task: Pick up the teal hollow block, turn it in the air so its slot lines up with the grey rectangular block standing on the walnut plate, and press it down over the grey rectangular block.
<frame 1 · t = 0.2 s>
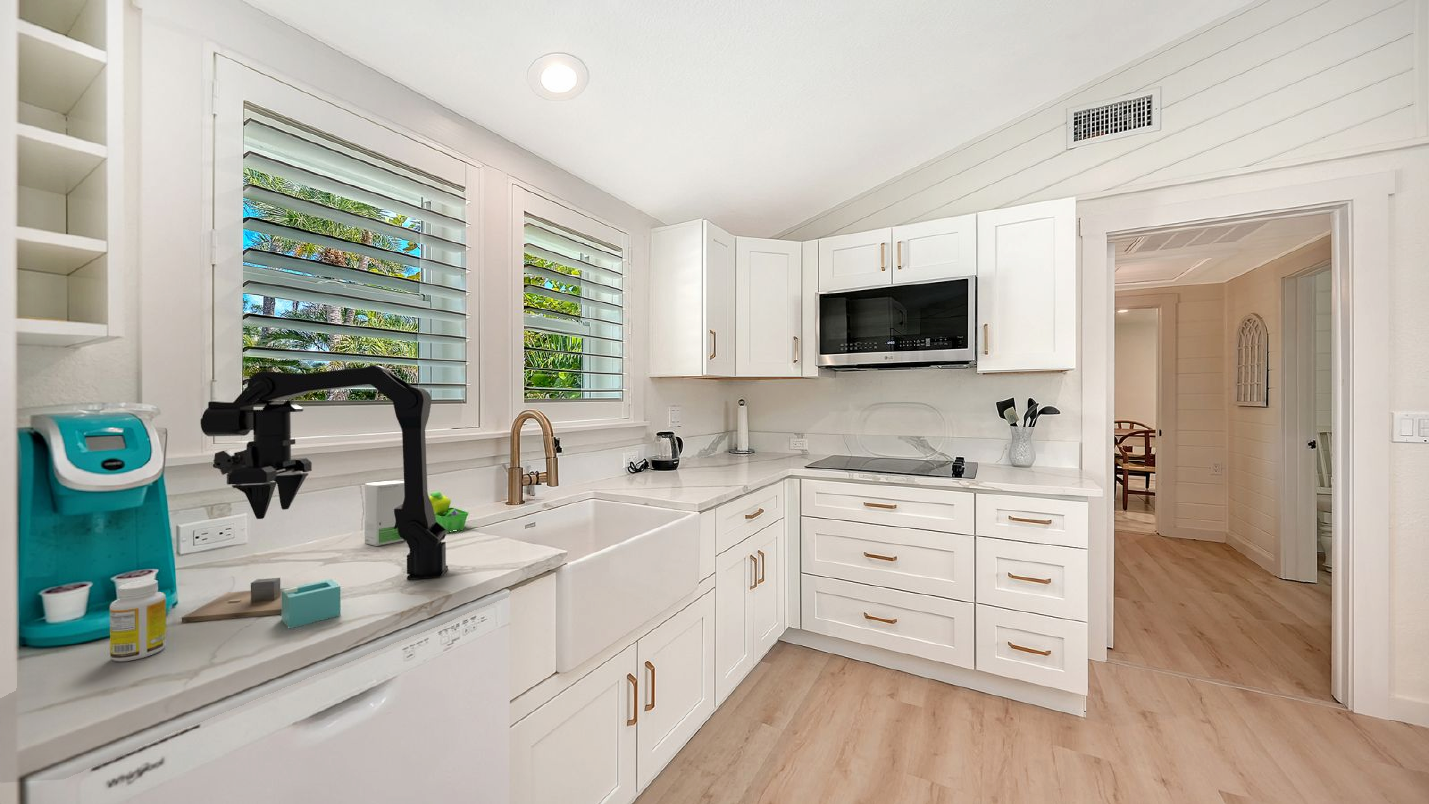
hand: (273, 513, 106), 14 cm above the worktop, tool pointing down, fingers open, 9 cm apart
base plate: (265, 603, 97), on the worktop
supplement bottle: (138, 655, 78), on the worktop
skincare box: (386, 542, 140), on the worktop
teal hollow block: (311, 617, 91), on the worktop
grey rectangular block: (265, 603, 97), resting on base plate
fruit basket: (445, 530, 153), on the worktop
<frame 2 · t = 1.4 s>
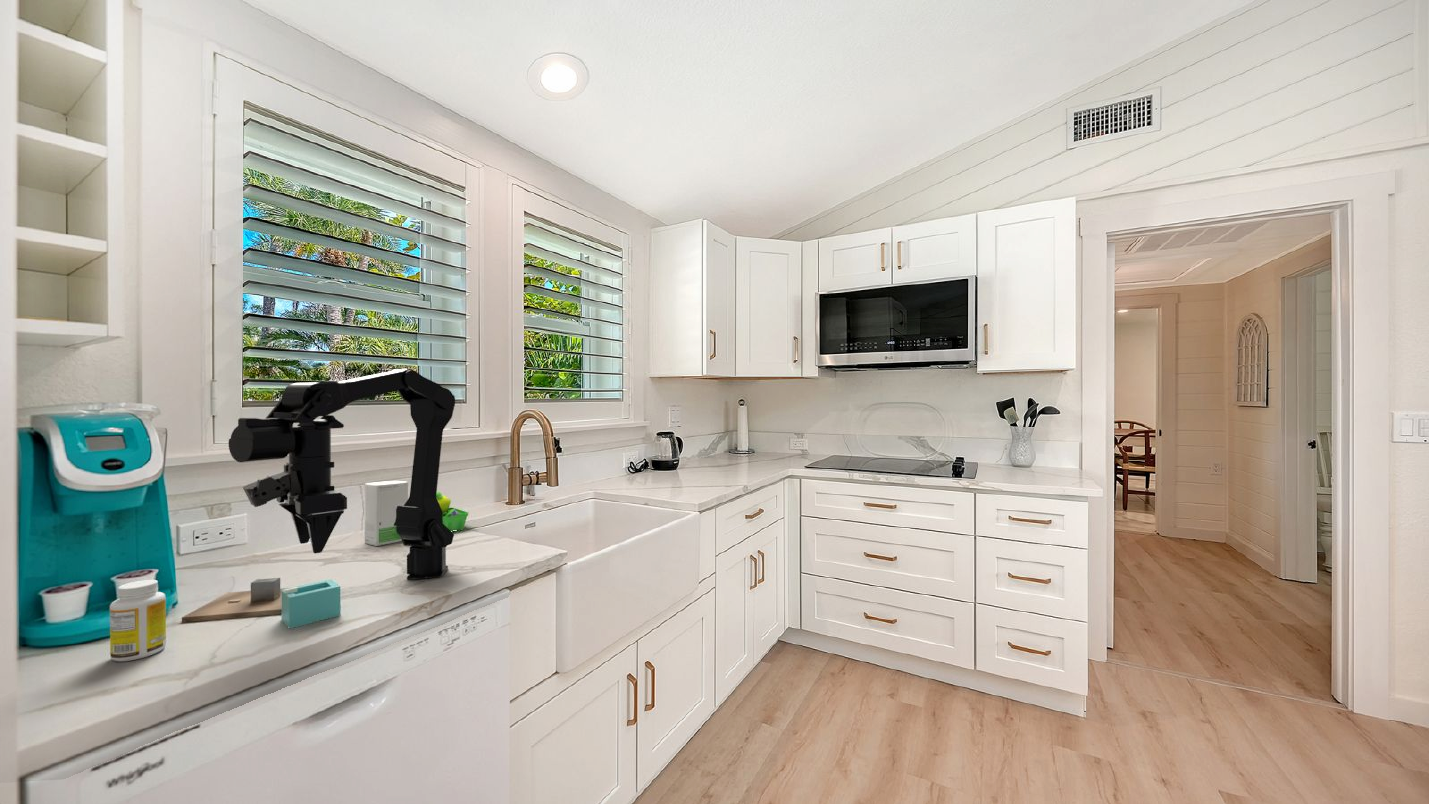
hand: (310, 547, 91), 12 cm above the worktop, tool pointing down, fingers open, 9 cm apart
nothing on the worktop moved.
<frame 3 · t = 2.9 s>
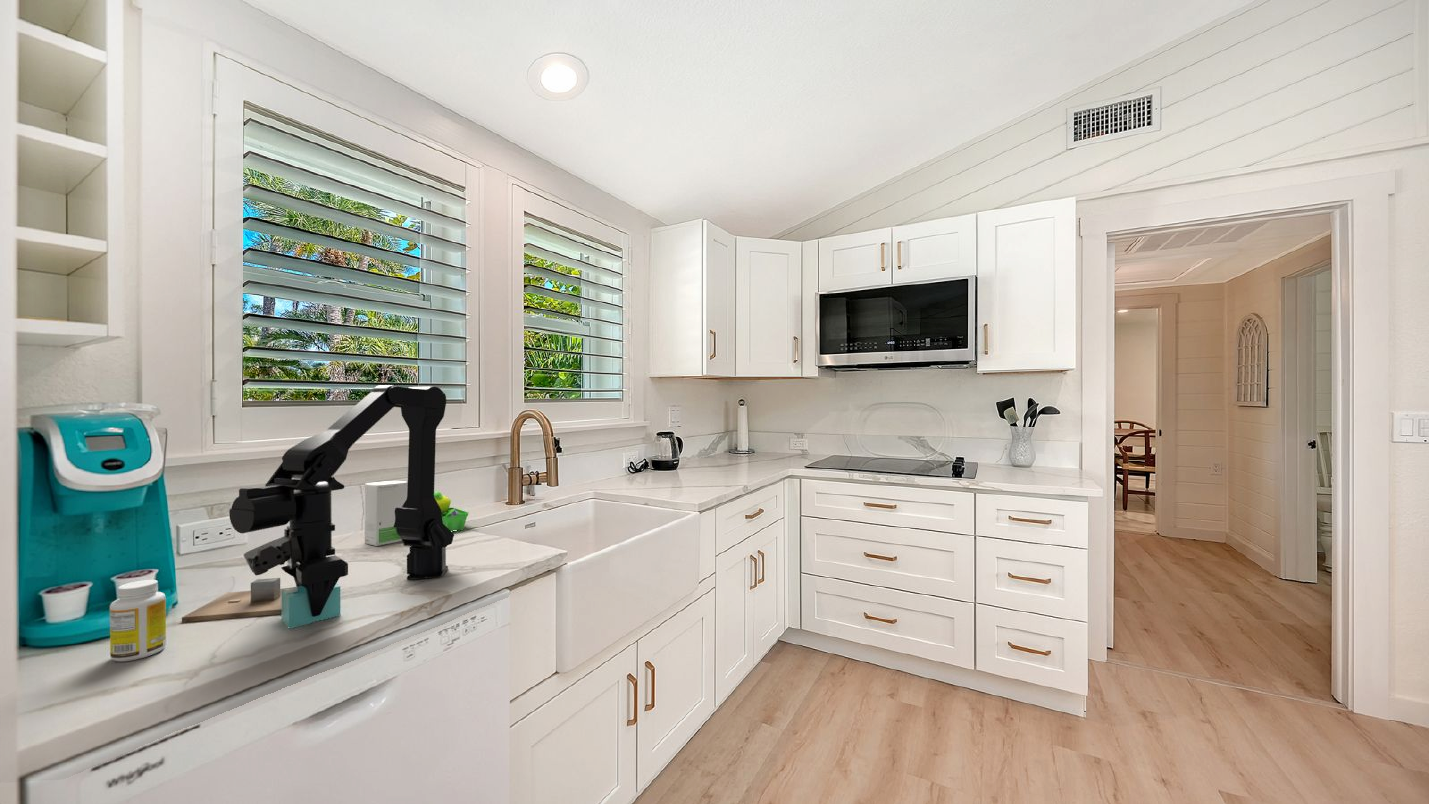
hand: (311, 611, 91), 1 cm above the worktop, tool pointing down, fingers closed on teal hollow block, 6 cm apart
teal hollow block: (311, 617, 91), on the worktop, touching gripper
everything else where it was.
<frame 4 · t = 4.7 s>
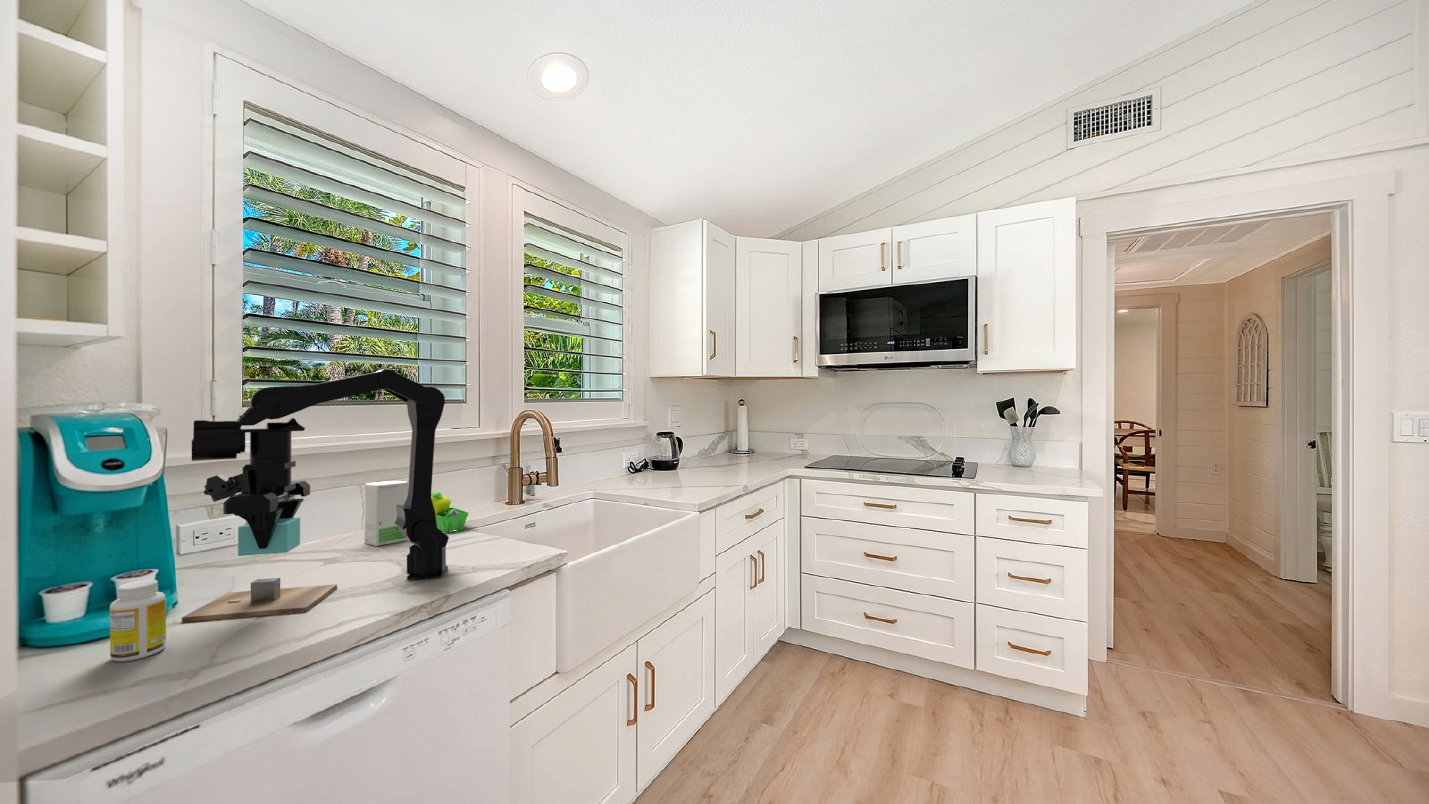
hand: (270, 544, 96), 11 cm above the worktop, tool pointing down, fingers closed on teal hollow block, 6 cm apart
teal hollow block: (270, 550, 96), point 10 cm above the worktop, touching gripper
everything else where it was.
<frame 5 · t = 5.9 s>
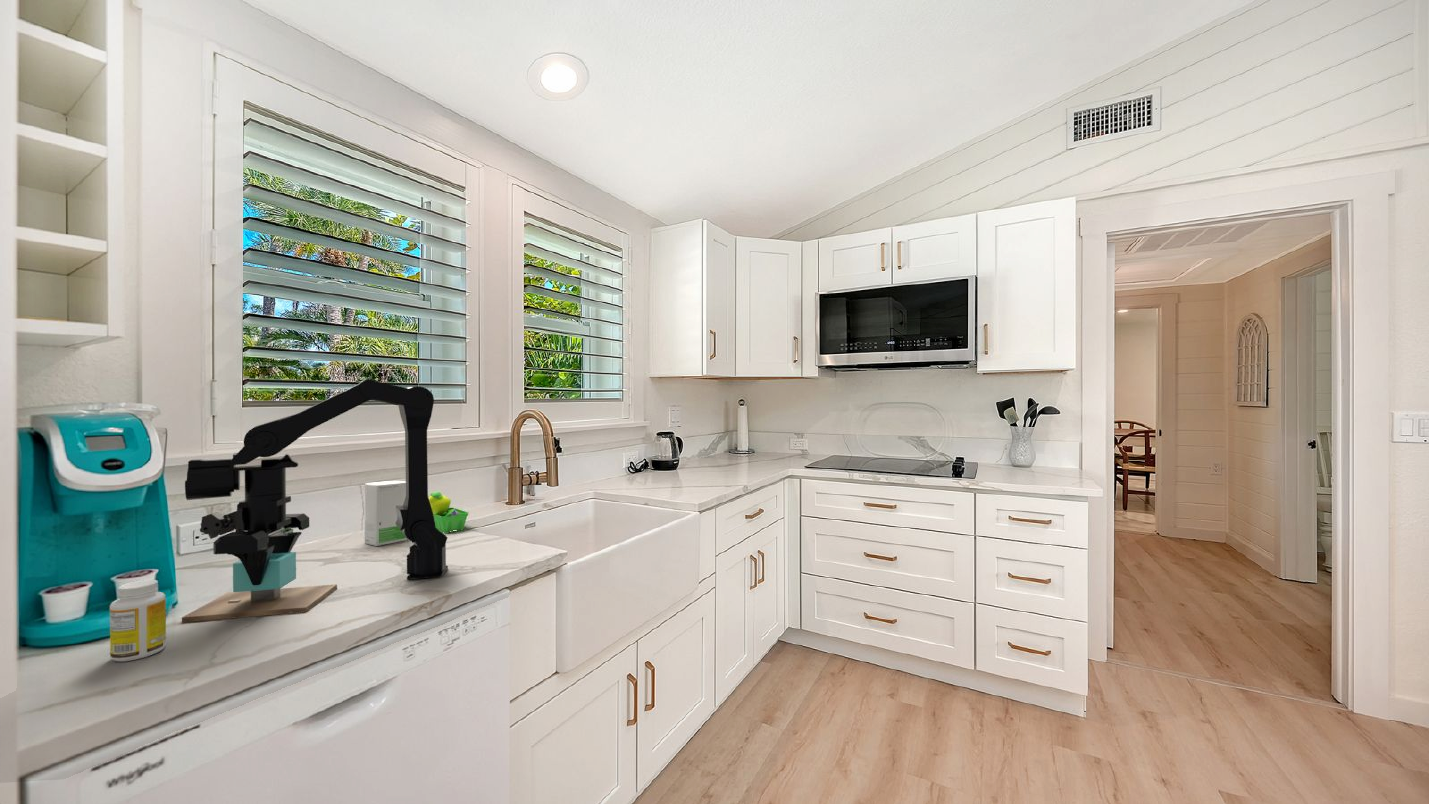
hand: (266, 579, 97), 4 cm above the worktop, tool pointing down, fingers closed on teal hollow block, 6 cm apart
teal hollow block: (265, 585, 97), point 3 cm above the worktop, touching gripper
everything else where it was.
when the fingers open (3 cm above the worktop, at t = 6.6 s): teal hollow block stays where it is, resting on base plate.
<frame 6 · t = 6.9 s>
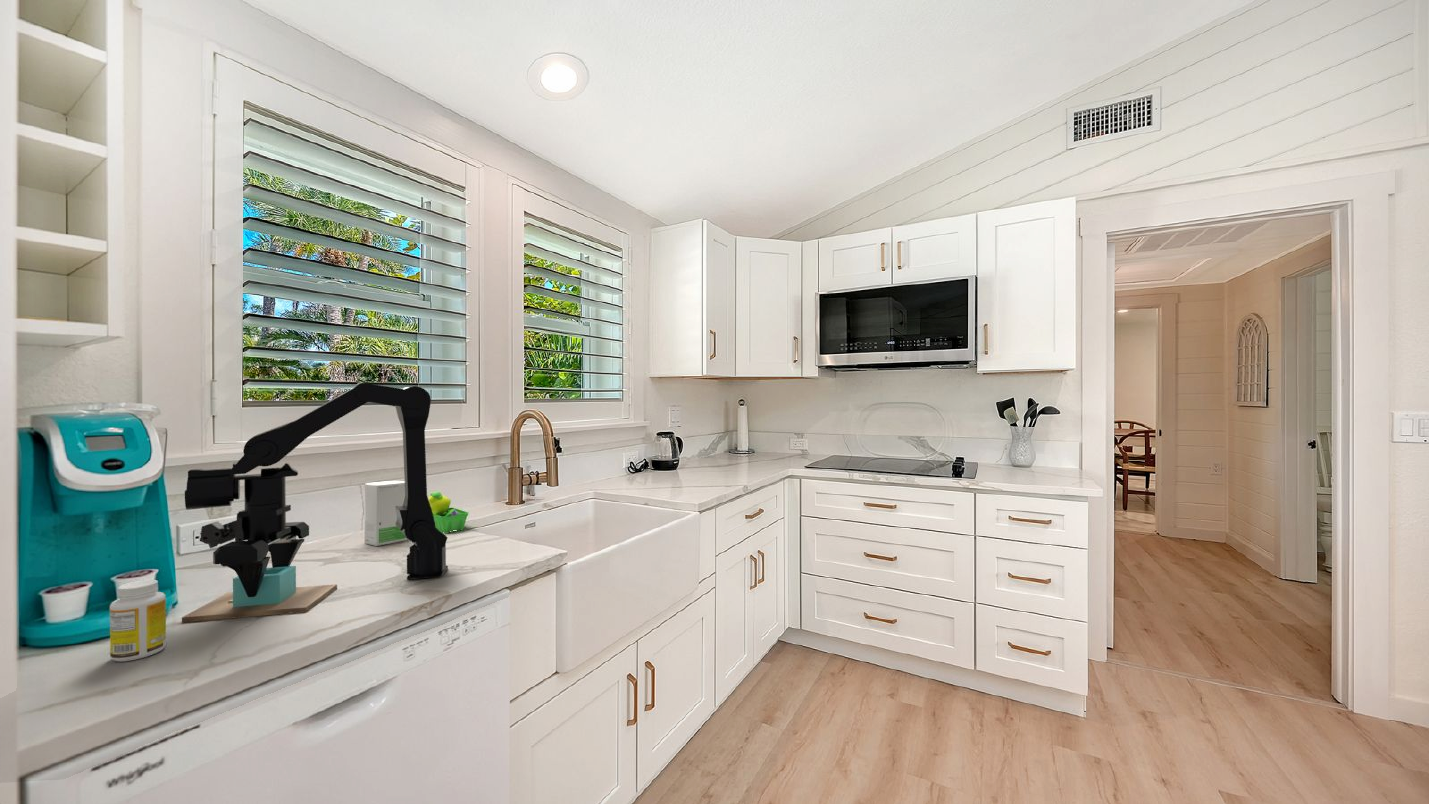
hand: (266, 588, 97), 3 cm above the worktop, tool pointing down, fingers open, 8 cm apart
teal hollow block: (265, 599, 97), point 1 cm above the worktop, touching base plate
everything else where it was.
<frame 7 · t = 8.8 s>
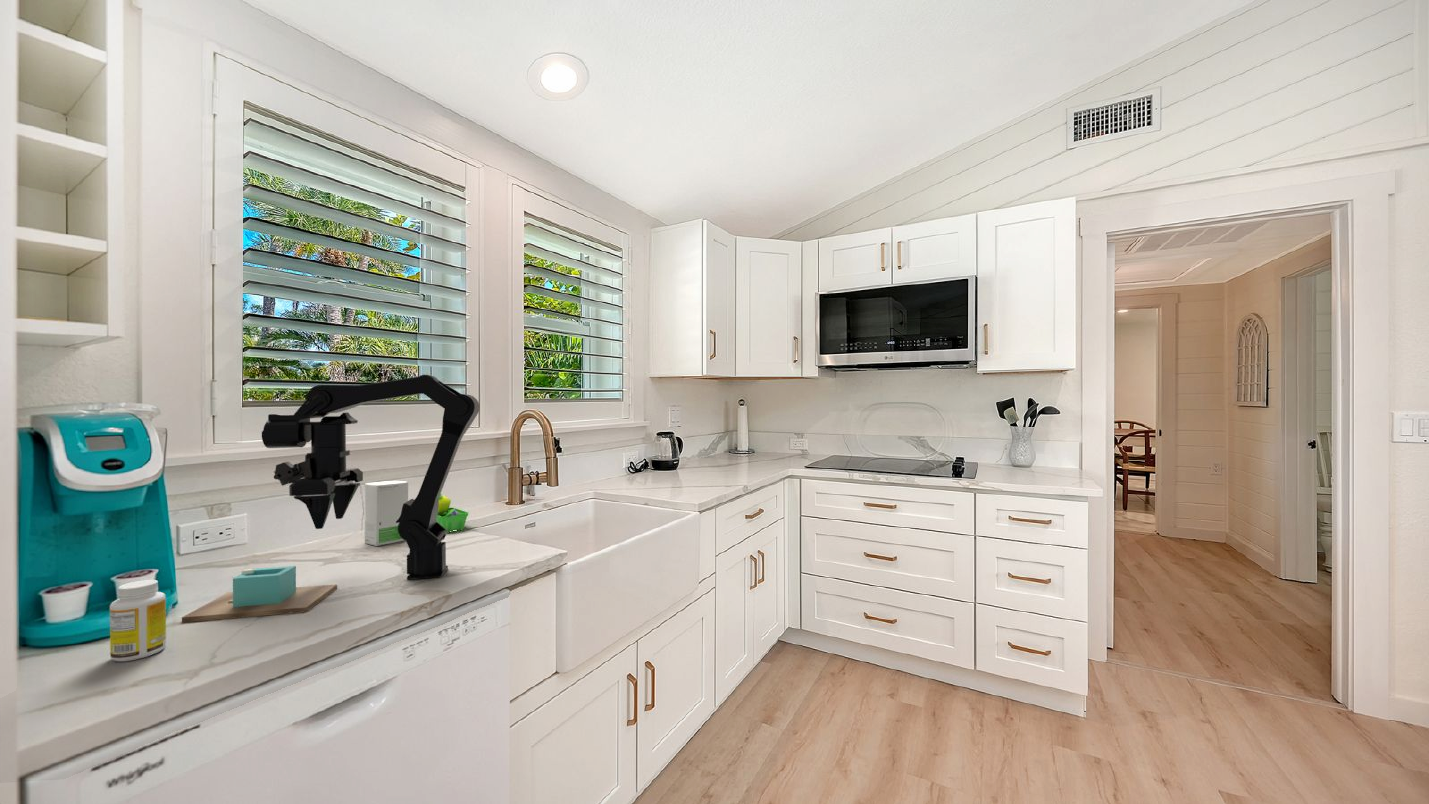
hand: (329, 523, 109), 12 cm above the worktop, tool pointing down, fingers open, 9 cm apart
nothing on the worktop moved.
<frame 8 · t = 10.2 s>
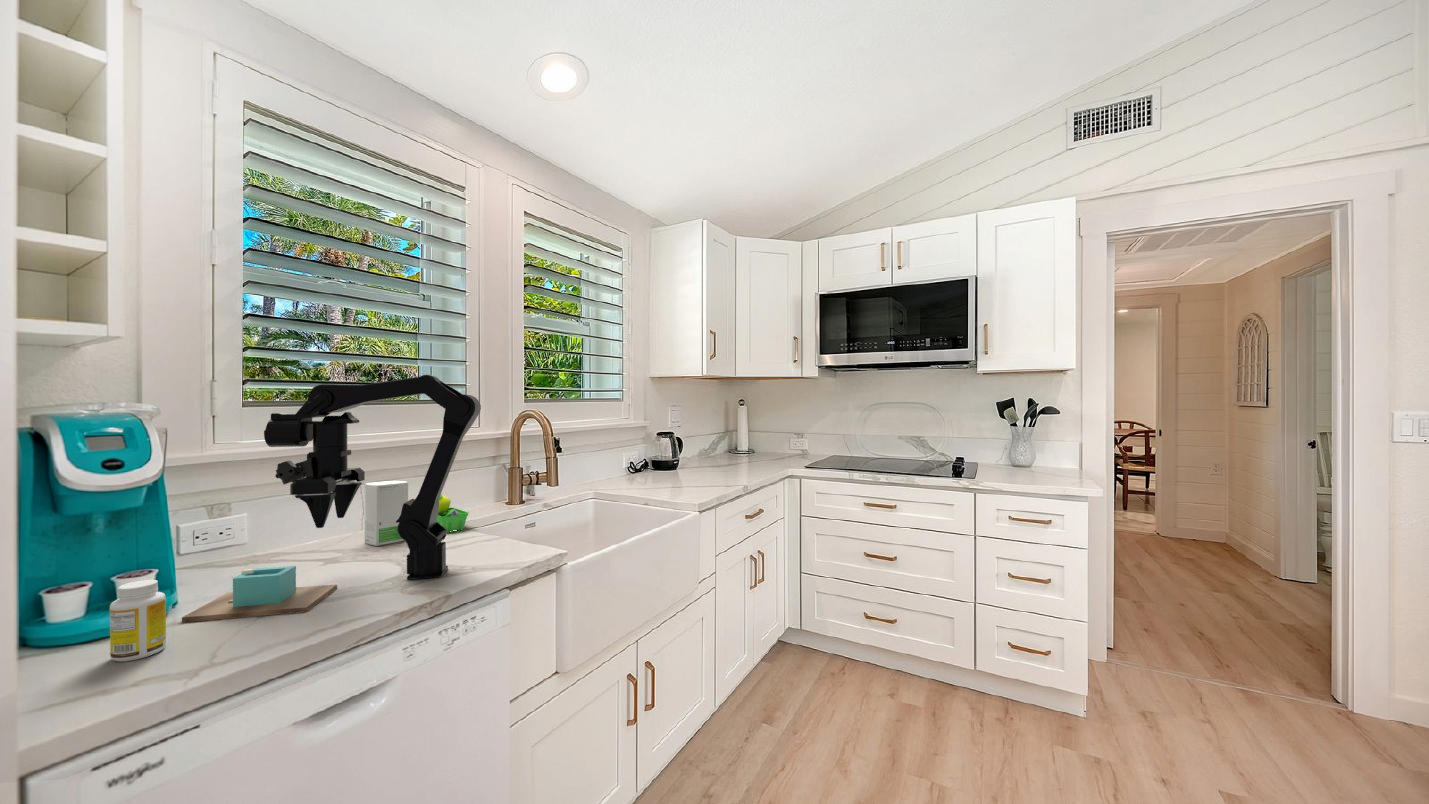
hand: (330, 522, 109), 12 cm above the worktop, tool pointing down, fingers open, 9 cm apart
nothing on the worktop moved.
at the end: teal hollow block 0.0 cm from the grey rectangular block (horizontally); teal hollow block point 0.8 cm above the worktop; teal hollow block tilted 0° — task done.
